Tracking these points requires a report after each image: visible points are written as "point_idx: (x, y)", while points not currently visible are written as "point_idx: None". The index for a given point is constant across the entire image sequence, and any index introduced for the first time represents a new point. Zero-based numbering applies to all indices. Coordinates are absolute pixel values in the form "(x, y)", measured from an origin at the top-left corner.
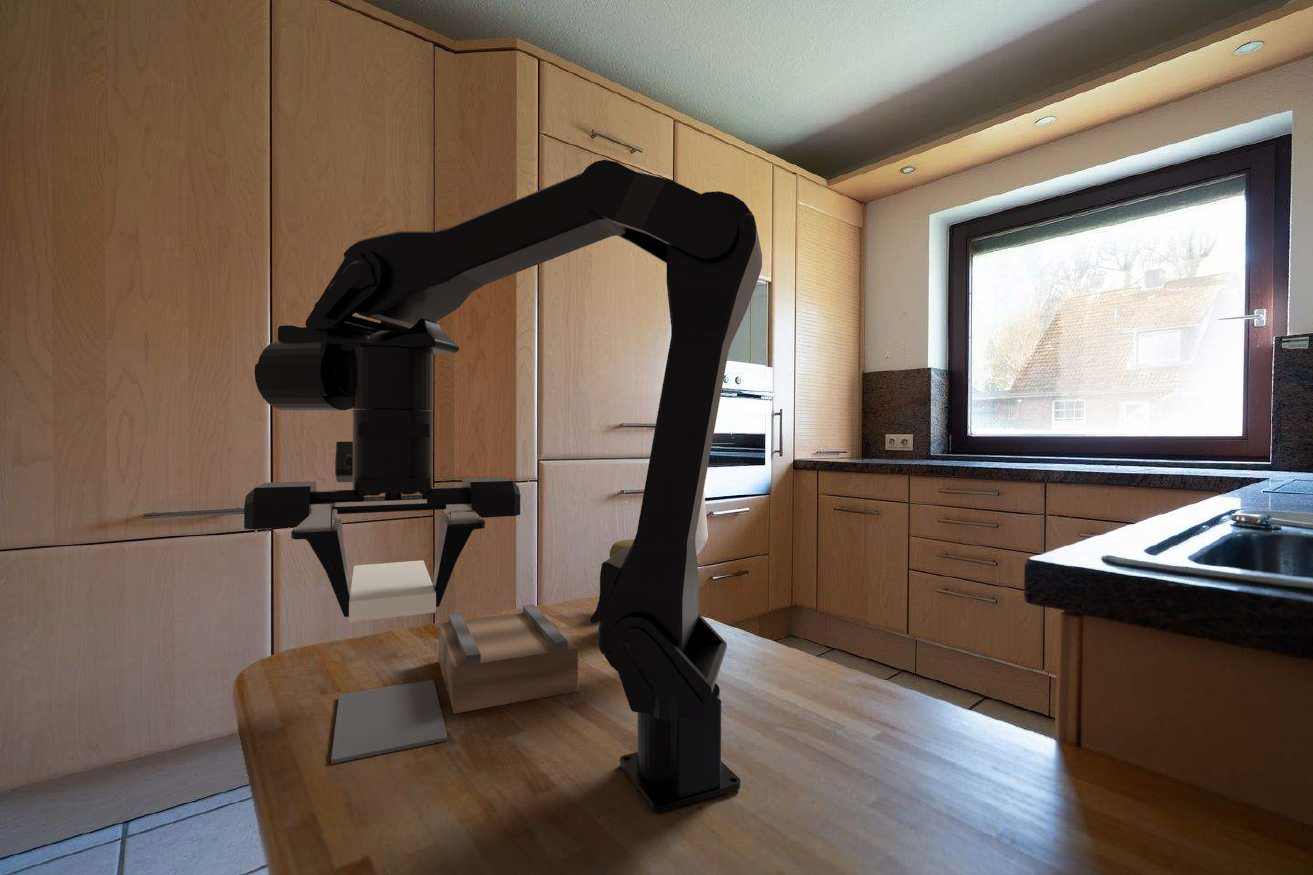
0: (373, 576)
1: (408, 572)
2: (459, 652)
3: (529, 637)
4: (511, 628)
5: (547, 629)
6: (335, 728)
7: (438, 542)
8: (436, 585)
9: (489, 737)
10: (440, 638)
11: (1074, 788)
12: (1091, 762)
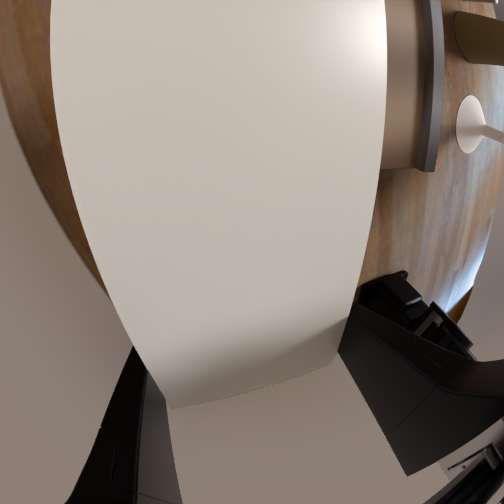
0: (162, 161)
1: (321, 126)
2: None
3: (411, 97)
4: (400, 41)
5: (434, 114)
6: None
7: (428, 387)
8: (344, 362)
9: None
10: None
11: (452, 309)
12: (467, 296)
